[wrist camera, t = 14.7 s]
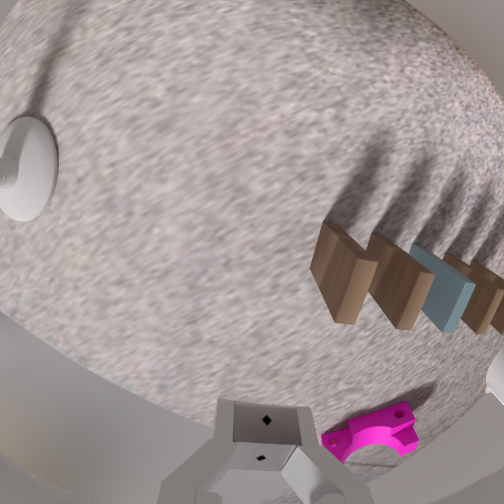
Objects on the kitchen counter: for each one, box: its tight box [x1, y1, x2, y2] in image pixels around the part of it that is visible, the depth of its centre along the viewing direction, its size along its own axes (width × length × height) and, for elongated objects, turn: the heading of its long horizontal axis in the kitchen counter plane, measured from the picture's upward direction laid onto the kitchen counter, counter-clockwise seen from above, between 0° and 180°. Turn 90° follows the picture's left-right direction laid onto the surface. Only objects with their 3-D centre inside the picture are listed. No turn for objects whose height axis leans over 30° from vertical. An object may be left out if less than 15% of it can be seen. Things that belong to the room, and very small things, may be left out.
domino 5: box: [470, 261, 504, 335], centre depth 25 cm, size 2×5×10 cm, turn 169°
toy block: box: [321, 401, 419, 464], centre depth 36 cm, size 15×6×8 cm, turn 103°
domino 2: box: [366, 233, 435, 330], centre depth 24 cm, size 2×5×10 cm, turn 169°
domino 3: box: [409, 244, 476, 333], centre depth 24 cm, size 2×5×10 cm, turn 169°
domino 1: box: [310, 222, 378, 325], centre depth 24 cm, size 2×5×10 cm, turn 169°
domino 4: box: [443, 253, 504, 334], centre depth 25 cm, size 2×5×10 cm, turn 169°
